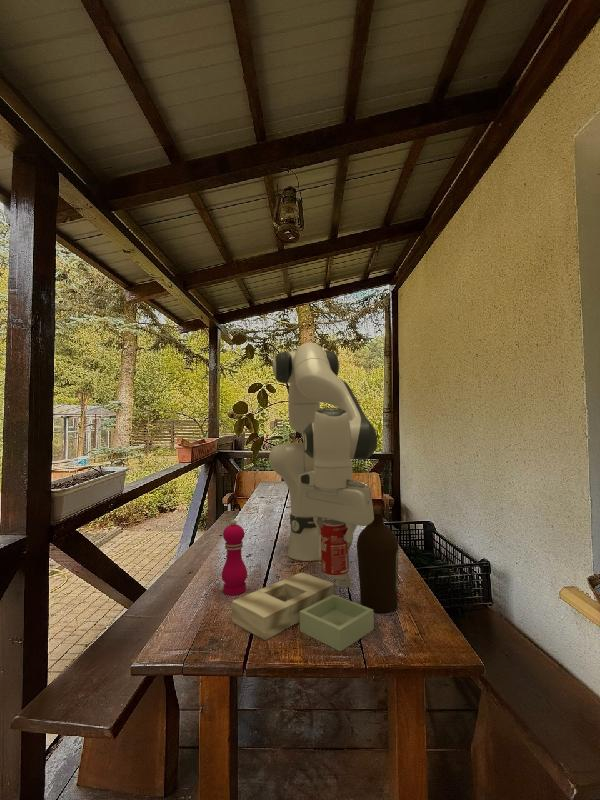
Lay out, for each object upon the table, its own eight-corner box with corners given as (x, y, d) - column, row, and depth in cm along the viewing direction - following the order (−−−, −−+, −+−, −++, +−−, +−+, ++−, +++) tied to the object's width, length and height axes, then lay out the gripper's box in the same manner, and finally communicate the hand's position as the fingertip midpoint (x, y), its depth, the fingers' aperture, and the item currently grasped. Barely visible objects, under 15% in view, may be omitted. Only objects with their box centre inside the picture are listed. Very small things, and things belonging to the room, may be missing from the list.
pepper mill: (219, 587, 121) (218, 518, 122) (244, 583, 124) (243, 515, 124) (224, 598, 115) (223, 524, 115) (250, 593, 117) (248, 521, 117)
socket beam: (302, 590, 119) (301, 572, 119) (335, 603, 110) (334, 583, 110) (232, 621, 101) (232, 601, 102) (264, 640, 93) (264, 617, 93)
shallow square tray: (333, 612, 105) (333, 594, 105) (373, 629, 97) (373, 609, 97) (299, 631, 97) (299, 611, 97) (340, 651, 88) (340, 629, 88)
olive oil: (362, 615, 103) (360, 513, 104) (354, 596, 114) (352, 503, 114) (405, 613, 104) (402, 511, 104) (393, 594, 114) (391, 502, 115)
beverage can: (332, 567, 101) (330, 517, 102) (354, 573, 97) (353, 520, 98) (316, 575, 96) (314, 523, 97) (339, 582, 92) (337, 527, 93)
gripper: (378, 480, 92) (380, 544, 92) (310, 472, 107) (312, 527, 106) (361, 484, 88) (363, 551, 88) (293, 475, 102) (294, 532, 102)
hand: (334, 538), depth 97 cm, fingers closed on beverage can, 6 cm apart
